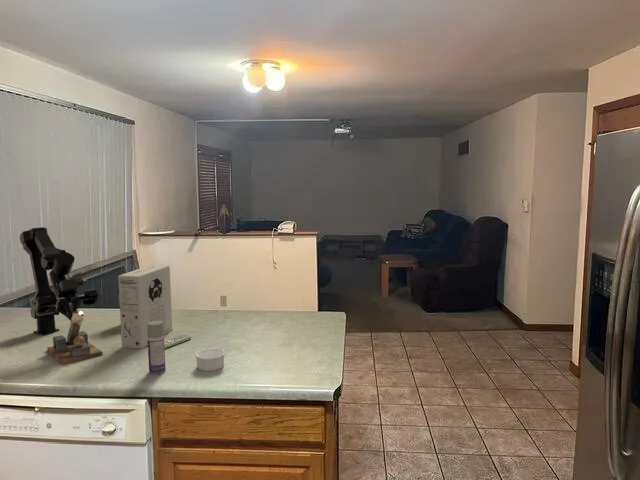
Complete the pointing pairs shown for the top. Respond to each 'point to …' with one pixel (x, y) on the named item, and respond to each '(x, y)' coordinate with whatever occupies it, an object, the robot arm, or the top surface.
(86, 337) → the tan base plate
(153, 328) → the container
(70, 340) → the lever
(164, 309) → the cereal box
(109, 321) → the top surface
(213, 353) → the ramekin
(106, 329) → the top surface
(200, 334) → the top surface
